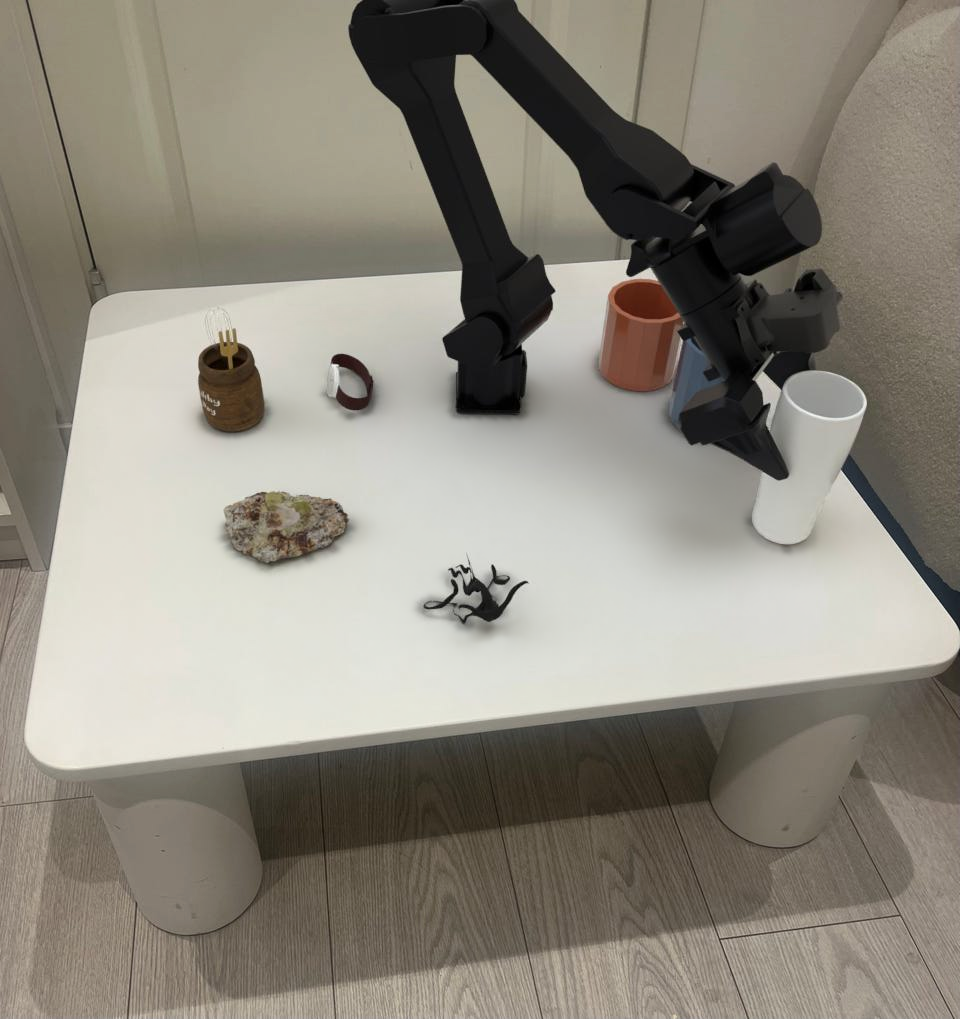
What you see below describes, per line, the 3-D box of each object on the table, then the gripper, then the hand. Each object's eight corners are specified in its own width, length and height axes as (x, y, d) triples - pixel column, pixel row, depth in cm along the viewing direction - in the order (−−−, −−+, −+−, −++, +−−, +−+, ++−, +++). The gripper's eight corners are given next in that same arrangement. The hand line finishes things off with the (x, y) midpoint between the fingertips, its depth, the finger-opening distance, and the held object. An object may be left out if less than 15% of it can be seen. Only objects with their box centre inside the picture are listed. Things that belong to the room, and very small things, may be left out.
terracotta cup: (602, 390, 105) (613, 321, 99) (595, 345, 111) (604, 278, 105) (679, 392, 105) (694, 323, 99) (667, 347, 111) (681, 279, 105)
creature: (411, 600, 85) (453, 653, 79) (404, 548, 82) (447, 599, 76) (494, 570, 88) (540, 619, 82) (490, 518, 85) (537, 566, 79)
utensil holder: (255, 390, 103) (240, 287, 95) (274, 426, 99) (259, 323, 91) (197, 404, 101) (176, 301, 93) (214, 442, 97) (194, 337, 89)
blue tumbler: (674, 439, 100) (692, 361, 93) (663, 393, 105) (679, 316, 98) (748, 441, 100) (771, 362, 93) (734, 394, 105) (754, 317, 99)
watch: (321, 373, 105) (318, 344, 103) (365, 367, 106) (364, 338, 104) (334, 419, 100) (331, 390, 98) (381, 412, 101) (379, 383, 99)
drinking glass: (832, 546, 90) (884, 414, 79) (762, 559, 88) (807, 425, 78) (796, 495, 95) (841, 364, 84) (729, 506, 93) (767, 374, 83)
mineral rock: (218, 554, 83) (222, 472, 87) (224, 578, 87) (227, 497, 91) (350, 550, 85) (347, 469, 89) (350, 573, 89) (348, 494, 92)
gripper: (747, 310, 71) (854, 487, 75) (834, 207, 82) (922, 365, 86) (630, 362, 79) (731, 519, 83) (724, 262, 91) (808, 403, 95)
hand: (803, 448), depth 86 cm, fingers open, 9 cm apart
